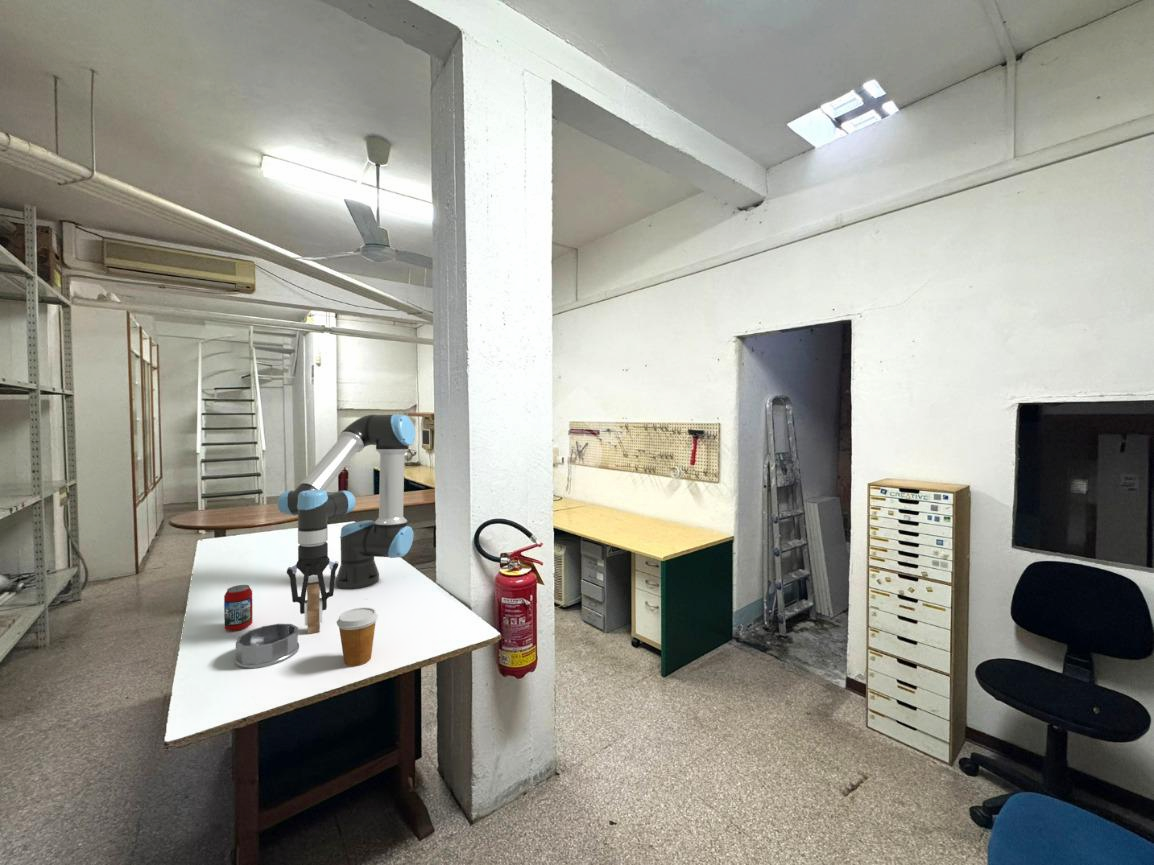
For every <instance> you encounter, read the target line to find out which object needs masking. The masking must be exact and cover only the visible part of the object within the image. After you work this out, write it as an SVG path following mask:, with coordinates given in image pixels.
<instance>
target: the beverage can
mask: <svg viewBox="0 0 1154 865" xmlns="http://www.w3.org/2000/svg"><path fill="white" fill-rule="evenodd" d="M223 596H224V597H223V600H224V601H223V608H224V610H223V612H224V614H223V615H224V617H223V618H224V619H223V620H224V629H225V630H227V631H229V632H238V631H242V630H245V629H247V628H248V627H250V626H251V625H252V624H253V590H252V588H251V586H250V585H249V584H239V585H233V586H231V587H229V588H226V592H225V594H224V595H223Z"/></svg>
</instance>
